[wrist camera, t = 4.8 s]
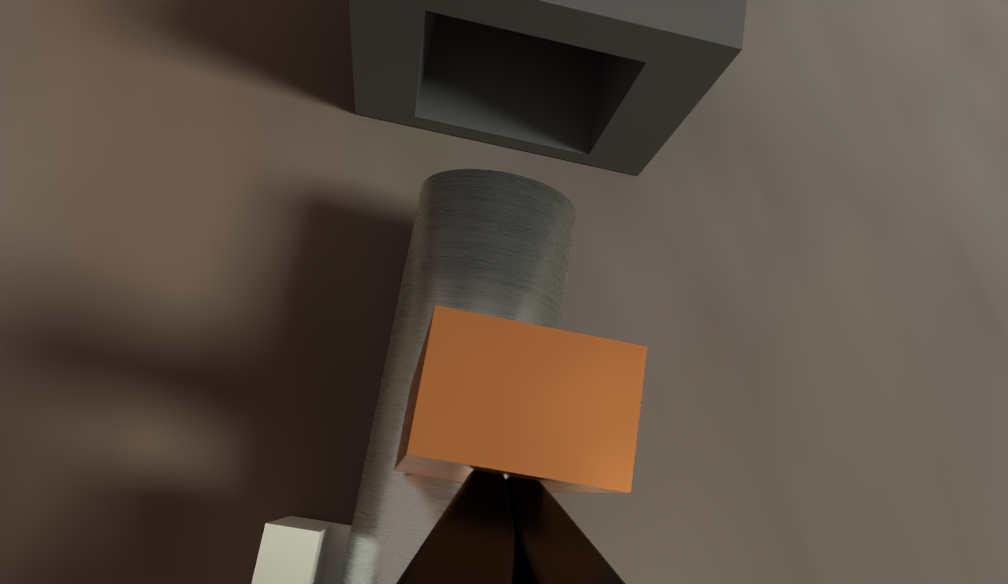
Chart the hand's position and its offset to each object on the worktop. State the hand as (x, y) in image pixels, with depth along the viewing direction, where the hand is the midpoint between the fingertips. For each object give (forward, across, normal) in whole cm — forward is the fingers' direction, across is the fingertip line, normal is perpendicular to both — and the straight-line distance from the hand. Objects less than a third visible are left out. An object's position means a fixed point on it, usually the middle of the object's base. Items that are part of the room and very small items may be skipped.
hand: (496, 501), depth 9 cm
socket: (+16, 0, +2) cm, 16 cm away
